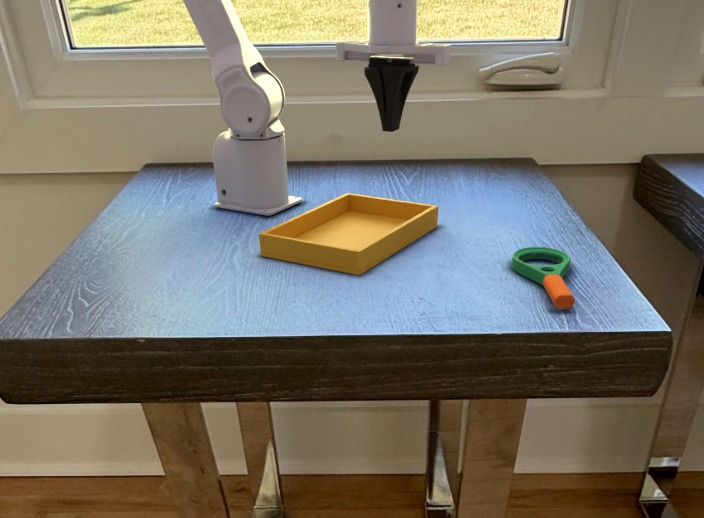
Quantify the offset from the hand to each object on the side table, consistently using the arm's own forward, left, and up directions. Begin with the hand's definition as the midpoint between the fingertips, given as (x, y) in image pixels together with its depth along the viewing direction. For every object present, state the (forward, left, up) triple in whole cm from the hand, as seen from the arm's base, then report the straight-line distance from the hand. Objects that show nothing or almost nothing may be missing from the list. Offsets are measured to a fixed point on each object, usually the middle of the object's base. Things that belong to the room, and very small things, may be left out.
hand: (390, 130), depth 89 cm
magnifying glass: (+28, -16, -10) cm, 33 cm away
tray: (+3, -14, -9) cm, 17 cm away
